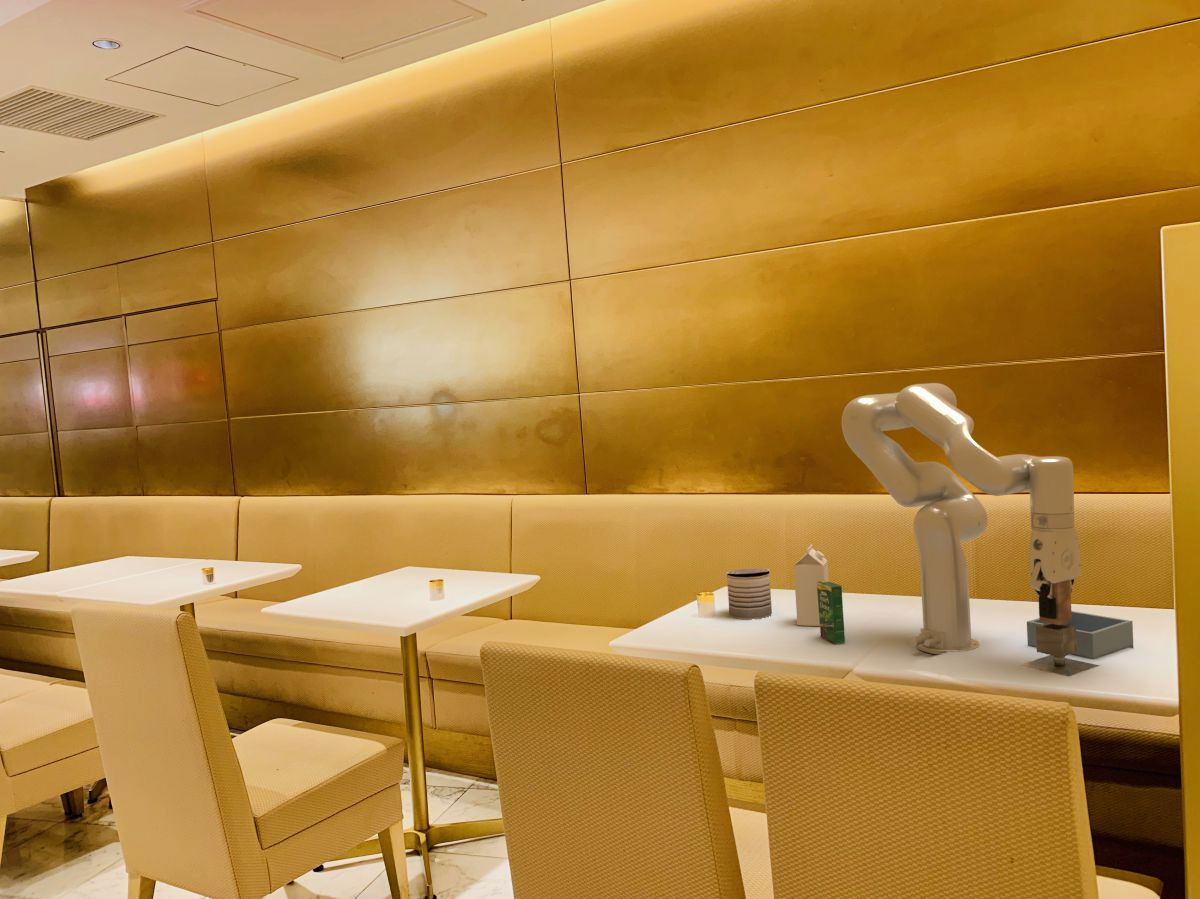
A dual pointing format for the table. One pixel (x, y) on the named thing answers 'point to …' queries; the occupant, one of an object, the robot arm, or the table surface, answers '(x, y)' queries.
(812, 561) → the milk carton
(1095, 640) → the bin
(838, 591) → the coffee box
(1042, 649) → the strut
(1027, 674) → the table surface
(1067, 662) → the stud plate
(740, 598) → the can
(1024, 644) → the table surface
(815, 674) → the table surface
